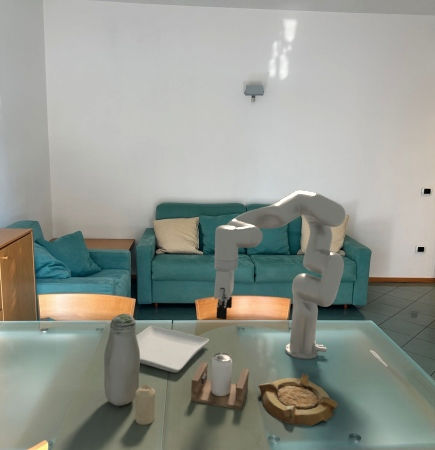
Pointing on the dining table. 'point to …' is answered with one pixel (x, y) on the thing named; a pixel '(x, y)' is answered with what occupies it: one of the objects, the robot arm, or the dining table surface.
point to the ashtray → (297, 401)
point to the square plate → (168, 348)
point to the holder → (204, 395)
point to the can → (221, 374)
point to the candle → (145, 405)
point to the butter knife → (378, 357)
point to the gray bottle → (121, 361)
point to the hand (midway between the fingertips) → (224, 312)
